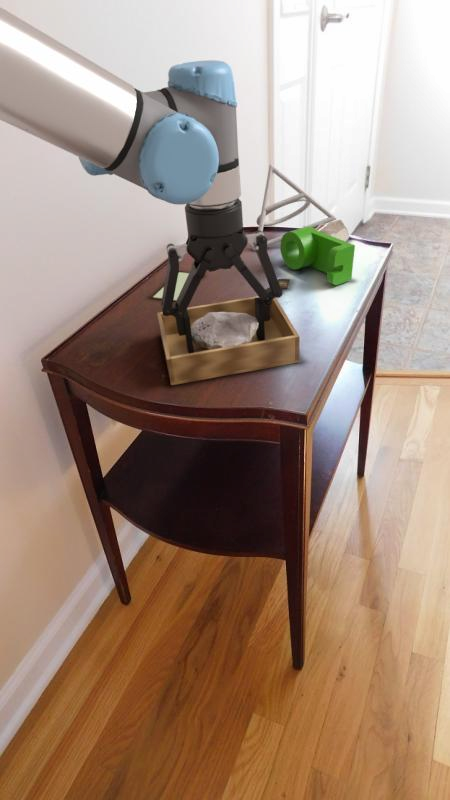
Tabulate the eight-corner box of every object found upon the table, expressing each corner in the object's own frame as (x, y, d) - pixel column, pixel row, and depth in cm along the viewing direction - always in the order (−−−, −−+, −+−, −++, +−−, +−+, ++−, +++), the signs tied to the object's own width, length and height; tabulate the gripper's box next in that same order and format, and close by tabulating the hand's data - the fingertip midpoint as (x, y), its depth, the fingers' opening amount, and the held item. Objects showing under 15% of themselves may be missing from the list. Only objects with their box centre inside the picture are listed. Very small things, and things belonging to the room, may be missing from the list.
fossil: (235, 353, 77) (182, 314, 79) (227, 380, 82) (177, 343, 85) (270, 322, 82) (219, 286, 84) (260, 349, 87) (212, 315, 89)
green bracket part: (297, 257, 110) (279, 263, 108) (299, 222, 106) (280, 227, 104) (351, 281, 100) (332, 288, 98) (355, 243, 96) (335, 249, 94)
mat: (176, 301, 99) (176, 300, 99) (153, 297, 101) (152, 296, 101) (201, 275, 107) (201, 274, 107) (179, 273, 109) (179, 272, 108)
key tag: (279, 278, 103) (279, 275, 102) (294, 280, 101) (294, 277, 101) (261, 297, 97) (261, 294, 97) (277, 300, 96) (276, 297, 95)
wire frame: (234, 200, 127) (257, 263, 127) (230, 180, 114) (255, 250, 114) (307, 171, 125) (330, 235, 125) (311, 147, 112) (337, 218, 112)
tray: (171, 385, 78) (166, 359, 75) (161, 336, 89) (156, 312, 87) (299, 362, 80) (299, 336, 77) (274, 317, 91) (273, 293, 89)
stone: (353, 220, 114) (353, 236, 116) (335, 217, 117) (335, 233, 119) (319, 241, 108) (320, 257, 110) (301, 237, 111) (302, 253, 113)
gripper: (289, 180, 75) (290, 321, 88) (123, 204, 73) (150, 345, 86) (306, 196, 69) (304, 344, 83) (126, 222, 67) (155, 370, 80)
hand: (225, 344), depth 84 cm, fingers closed on fossil, 10 cm apart
